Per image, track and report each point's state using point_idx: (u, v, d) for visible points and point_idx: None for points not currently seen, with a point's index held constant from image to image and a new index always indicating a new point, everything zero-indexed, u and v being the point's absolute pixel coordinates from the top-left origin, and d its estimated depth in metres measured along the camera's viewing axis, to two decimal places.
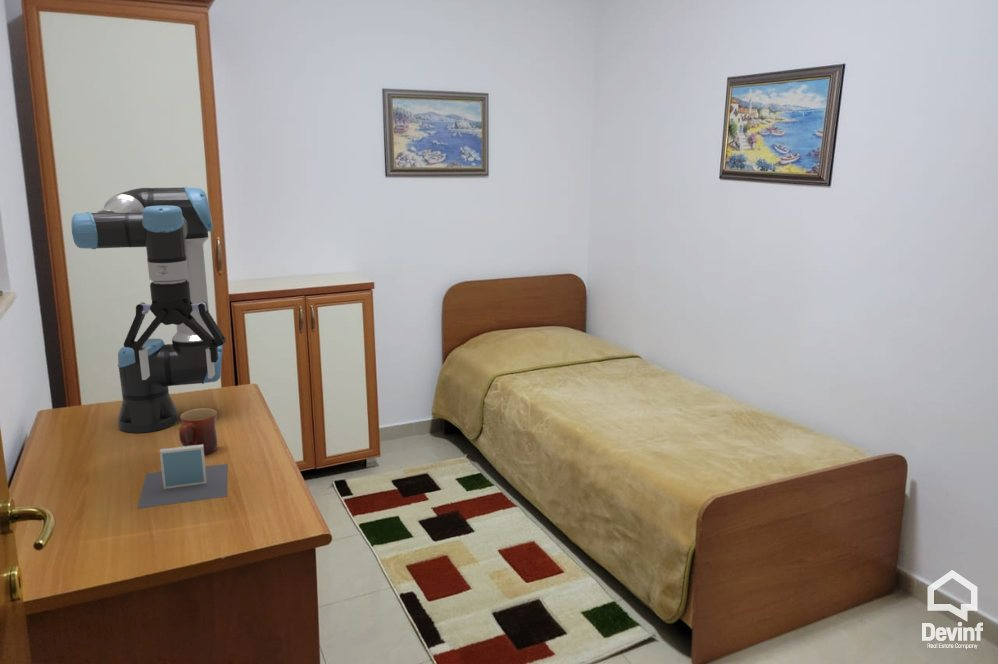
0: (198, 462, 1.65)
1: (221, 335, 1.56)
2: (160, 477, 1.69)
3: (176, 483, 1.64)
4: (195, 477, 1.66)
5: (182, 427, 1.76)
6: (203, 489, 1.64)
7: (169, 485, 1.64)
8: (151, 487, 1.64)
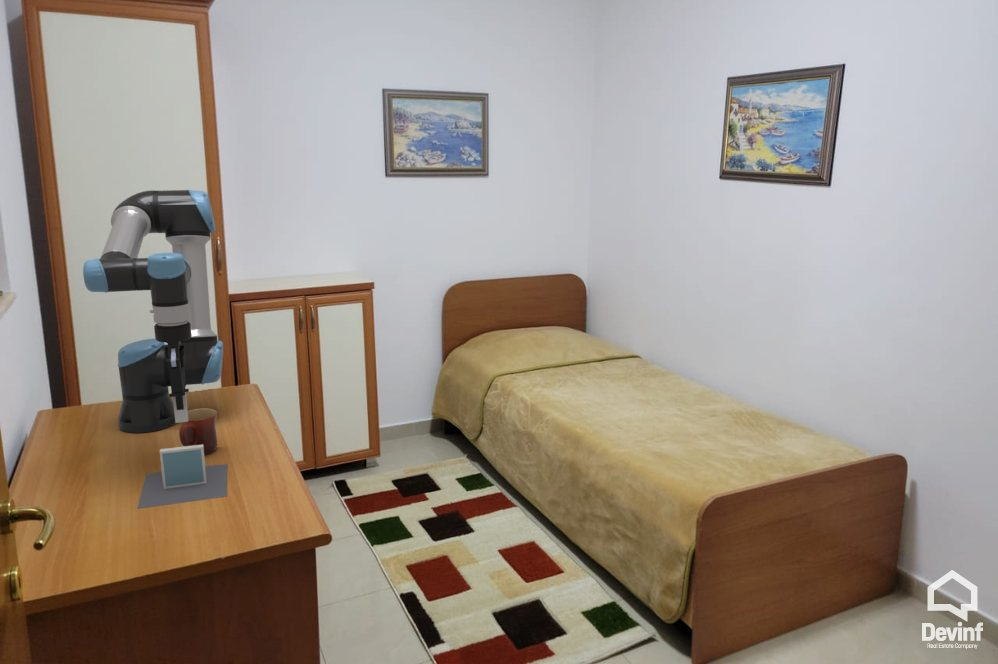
0: (198, 462, 1.65)
1: (177, 390, 1.63)
2: (160, 477, 1.69)
3: (176, 483, 1.64)
4: (195, 477, 1.66)
5: (182, 427, 1.76)
6: (203, 489, 1.64)
7: (169, 485, 1.64)
8: (151, 487, 1.64)
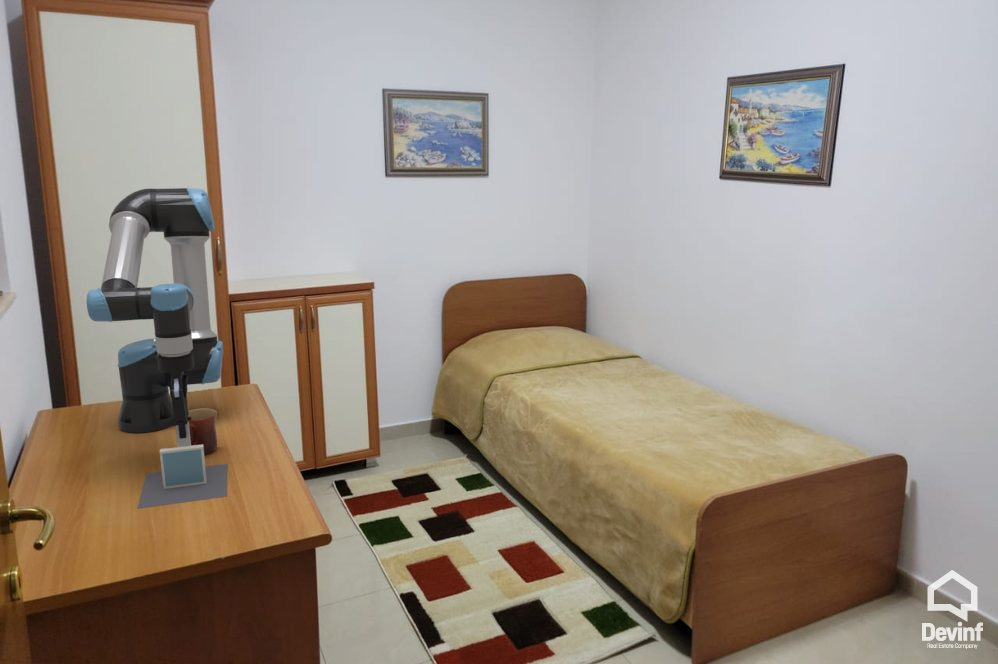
0: (198, 462, 1.65)
1: (180, 419, 1.65)
2: (160, 477, 1.69)
3: (176, 483, 1.64)
4: (195, 477, 1.66)
5: None
6: (203, 489, 1.64)
7: (169, 485, 1.64)
8: (151, 487, 1.64)
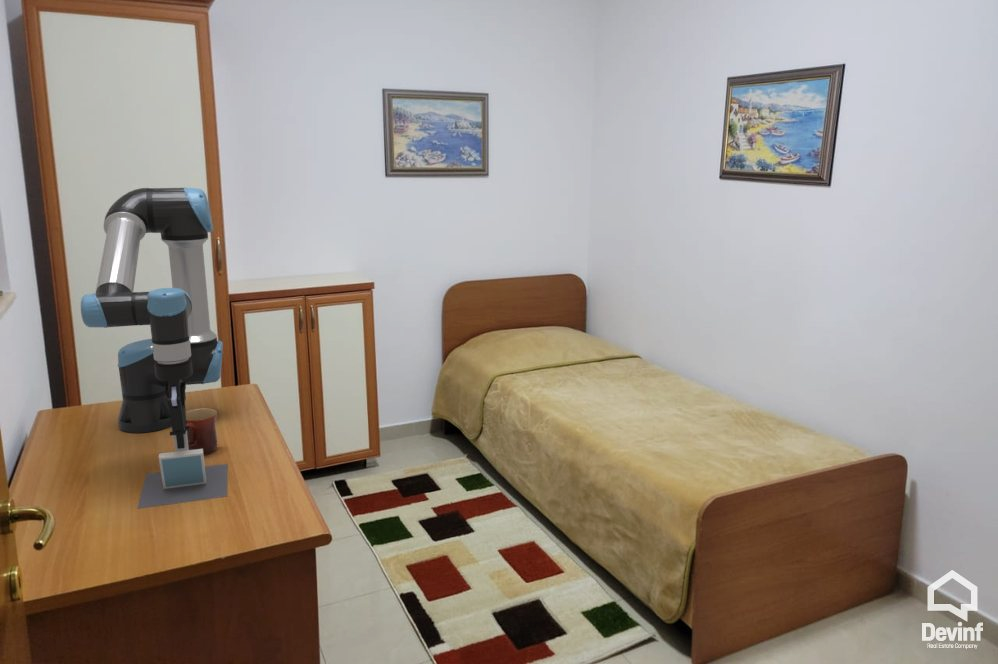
0: (198, 466, 1.64)
1: (178, 429, 1.59)
2: (160, 477, 1.69)
3: (176, 484, 1.64)
4: (195, 478, 1.65)
5: None
6: (203, 489, 1.64)
7: (169, 486, 1.64)
8: (151, 487, 1.64)
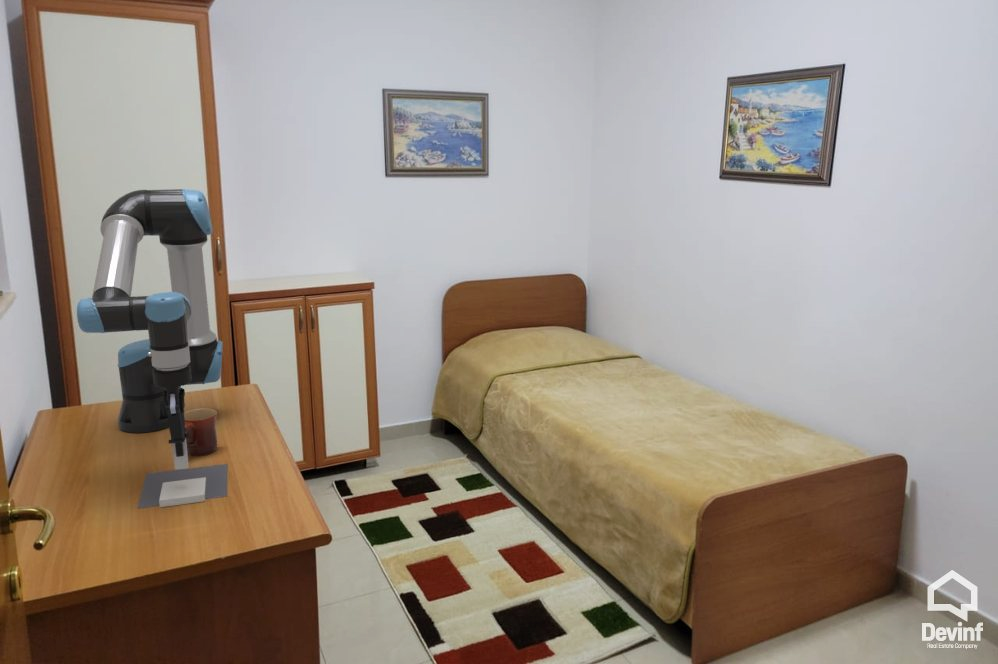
0: None
1: (177, 437, 1.55)
2: (160, 477, 1.69)
3: None
4: None
5: None
6: None
7: None
8: (151, 487, 1.64)
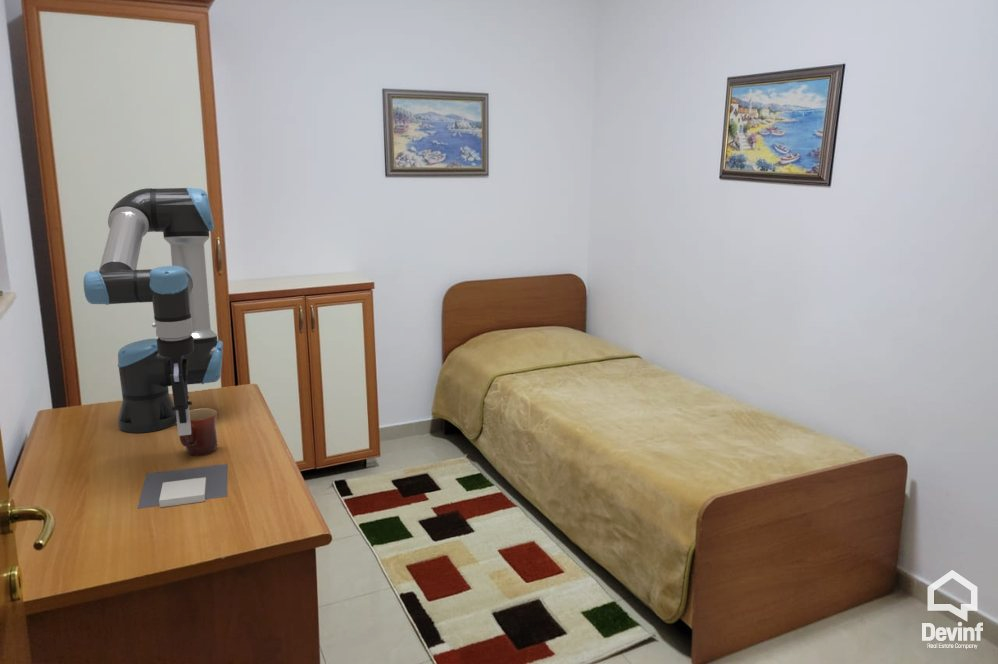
0: None
1: (180, 404, 1.62)
2: (160, 477, 1.69)
3: None
4: None
5: None
6: None
7: None
8: (151, 487, 1.64)
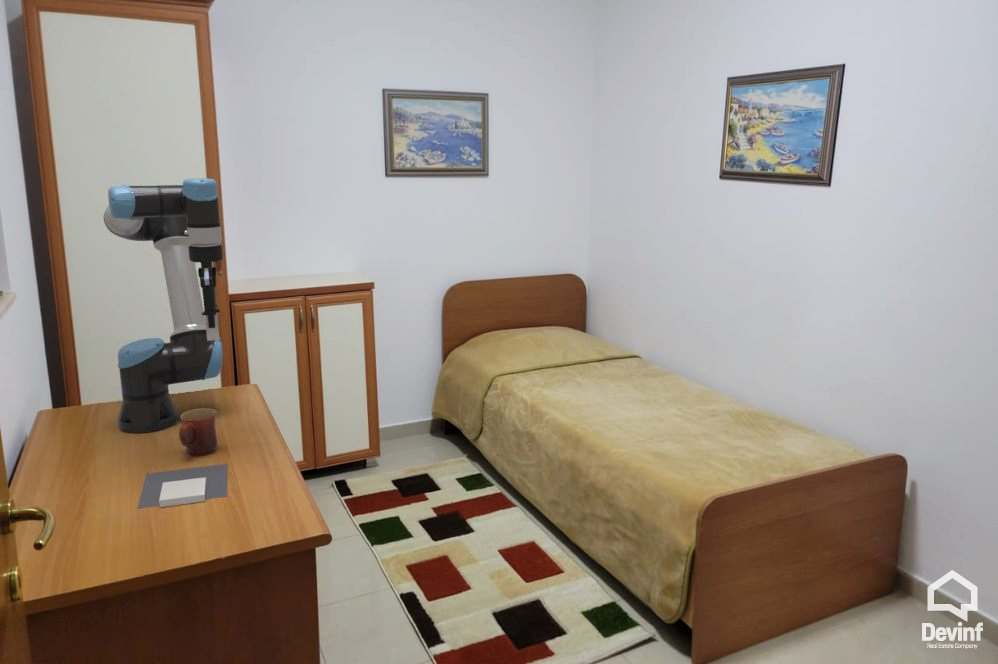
0: None
1: (210, 308, 1.74)
2: (160, 477, 1.69)
3: None
4: None
5: (182, 427, 1.76)
6: None
7: None
8: (151, 487, 1.64)
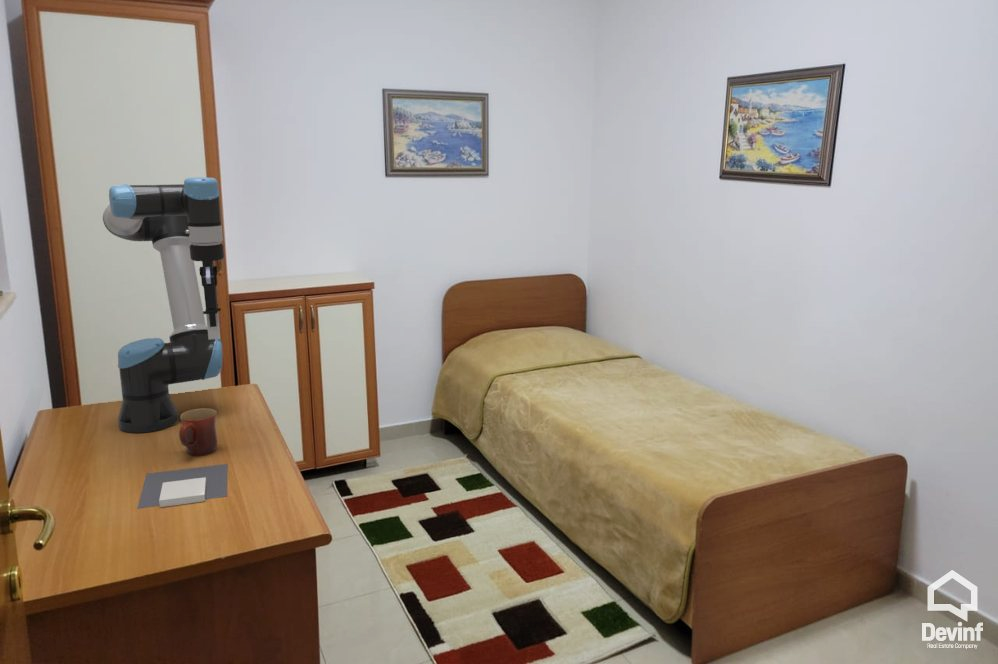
0: None
1: (211, 306, 1.74)
2: (160, 477, 1.69)
3: None
4: None
5: (182, 427, 1.76)
6: None
7: None
8: (151, 487, 1.64)
